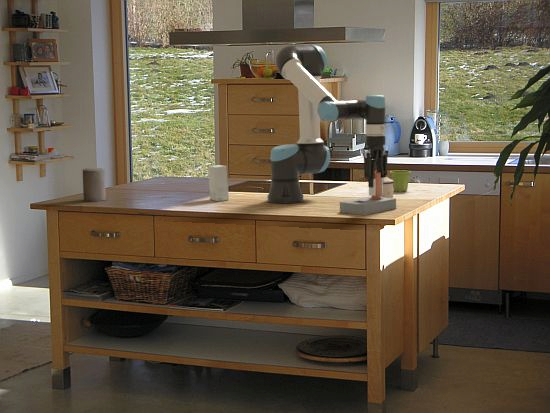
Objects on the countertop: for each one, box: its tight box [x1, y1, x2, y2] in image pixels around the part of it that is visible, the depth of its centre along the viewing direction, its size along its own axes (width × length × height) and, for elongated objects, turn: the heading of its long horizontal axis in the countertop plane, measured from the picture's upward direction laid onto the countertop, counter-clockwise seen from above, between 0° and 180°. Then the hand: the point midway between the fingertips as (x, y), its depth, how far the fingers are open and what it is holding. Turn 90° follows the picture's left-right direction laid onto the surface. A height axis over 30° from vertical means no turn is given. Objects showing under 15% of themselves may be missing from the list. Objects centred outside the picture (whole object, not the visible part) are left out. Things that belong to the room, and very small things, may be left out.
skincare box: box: [207, 164, 230, 202], centre depth 406 cm, size 8×6×15 cm
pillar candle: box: [82, 166, 107, 202], centre depth 414 cm, size 10×10×15 cm
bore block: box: [339, 195, 397, 216], centre depth 369 cm, size 12×20×4 cm, turn 136°
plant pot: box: [389, 169, 412, 193], centre depth 423 cm, size 9×9×9 cm
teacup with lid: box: [381, 176, 394, 198], centre depth 387 cm, size 12×9×12 cm
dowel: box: [370, 171, 381, 200], centre depth 371 cm, size 4×4×14 cm
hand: (376, 194), depth 372 cm, fingers open, 4 cm apart
